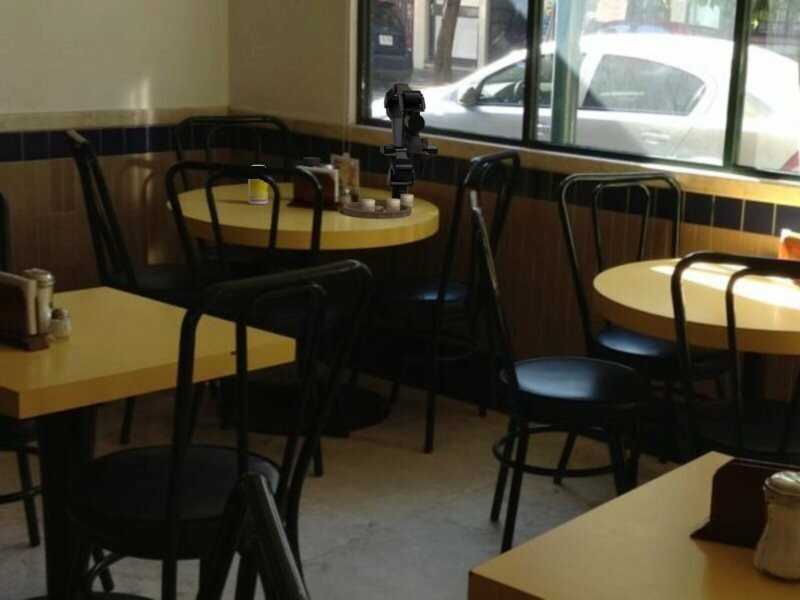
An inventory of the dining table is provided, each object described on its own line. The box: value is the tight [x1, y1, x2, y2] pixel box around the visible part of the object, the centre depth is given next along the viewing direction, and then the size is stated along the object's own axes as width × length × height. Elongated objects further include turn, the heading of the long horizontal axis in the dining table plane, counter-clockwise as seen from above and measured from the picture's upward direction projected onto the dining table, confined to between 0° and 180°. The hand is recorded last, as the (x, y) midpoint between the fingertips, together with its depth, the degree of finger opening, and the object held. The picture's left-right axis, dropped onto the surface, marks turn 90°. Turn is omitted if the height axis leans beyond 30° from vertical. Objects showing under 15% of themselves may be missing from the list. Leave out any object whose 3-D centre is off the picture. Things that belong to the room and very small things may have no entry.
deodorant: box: [302, 156, 322, 167], centre depth 444 cm, size 6×6×15 cm
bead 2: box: [386, 198, 400, 212], centre depth 418 cm, size 4×4×5 cm
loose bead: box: [400, 193, 414, 209], centre depth 435 cm, size 4×4×5 cm
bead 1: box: [360, 198, 376, 212], centre depth 416 cm, size 4×4×5 cm
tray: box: [342, 201, 413, 220], centre depth 422 cm, size 22×22×3 cm
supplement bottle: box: [247, 164, 269, 206], centre depth 437 cm, size 7×7×13 cm
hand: (408, 174), depth 433 cm, fingers open, 9 cm apart
